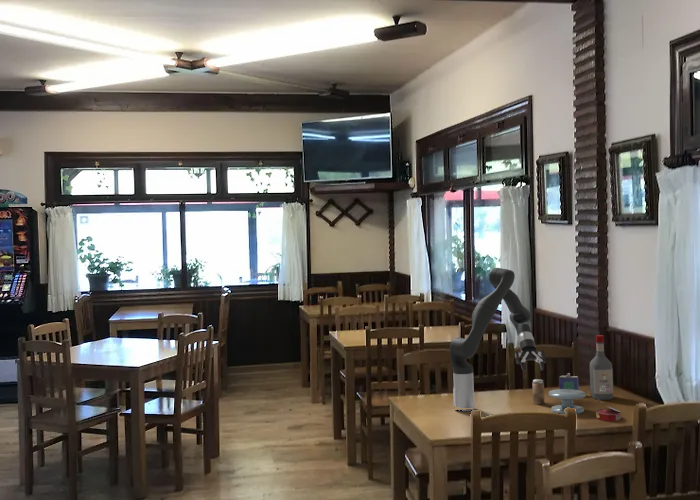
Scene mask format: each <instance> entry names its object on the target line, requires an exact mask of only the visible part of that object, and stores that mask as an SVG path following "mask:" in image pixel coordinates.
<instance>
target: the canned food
mask: <svg viewBox="0 0 700 500" xmlns="http://www.w3.org/2000/svg"><path fill="white" fill-rule="evenodd" d="M597 401H598V402H599V403H601V404H602V405H603V406H606V404H605V403H603V401H602V400H599V399H598V400H597ZM595 417H596V419H597V420H599V421H601V422H616V421H620V420H621V411H620V410H618V409H615V408H613V407H610V406H608V405H607V408H599V409H597V410H595Z"/></svg>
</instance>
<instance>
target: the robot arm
mask: <svg viewBox="0 0 700 500" xmlns="http://www.w3.org/2000/svg"><path fill="white" fill-rule="evenodd" d="M488 274H489V275H488V280H489V282H490V284H491V286H492V287H493V288H494V290H493V291H492V292H491V293H488V295H485V296H484V297H483V298H482V299H481V300H479V301H478V303H476V306H475V308H474V310H473V311H472V314H471V329H470V332H469V334H468V335H467V337H466V338H465V337H464V338H463V337H454V338H453V339H452V340H451V342H450V345H449V354H450V355H449V356H450V365H451V366H450V367H451V368H452V375H453V388H452V392H453V393H452V394H453V407H454V406H455V407H460V408H473V409H466V410H463V409H459V411H458V412H470V411H471V410H472V411H474V410H475V391H474V386H475V385H474V367H473V365H472V364H470V363H469V361H467V360H469V359H471V358H473V356H474V355H475V354H476V352H477V350H478V347H479V345H480V343H481V340H482V338H483V335H485V332H486V330H487V327H488V326H489V324H490V322H491V321H492V319H493V317H494V315H495V313H496V312H497V310H498V308H499V306H500V304H501V303H502V300H503V301H504V303H505V305H506V308H507V309H508V311H509V320H510V322H511V324H512V325H513V327H514V329H515V331H516V335H517V340H518V344H519V349H520V352H519V351H515V354H514V355H515V362H516V365H520V366H521V371H523V372H526V361H527V362H529V361H535V362H536V363H538V364H539V368H540V371H544V370H545V365H544V364H546V362H547V357H546V354H545V351H544V350H541V351H538V350H537V346H536V342H535V338H534V336H533V333H532V330H531V326H530V325H529V324H528V322H530V321H531V319H532V314H531V312H530V311H529V310H528V308H526V307H525V306H524V305H523V304H522V302H521V299H520V298H519V296H518V295H517V294H516V293H515V292H514V291H513V290H512V289H511V287H512V286H513V284H514V282H515V278H516V276H515V272H514V271H513V270H511V269H508V268H502V267H501V268H500V267H494V268H492V269H491V270H490V272H489V273H488ZM520 357H522V358H521V360H520ZM457 410H458V409H457ZM460 410H462V411H460Z"/></svg>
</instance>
